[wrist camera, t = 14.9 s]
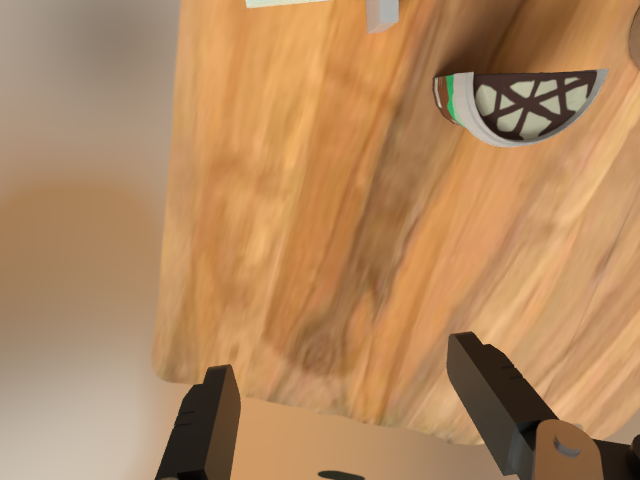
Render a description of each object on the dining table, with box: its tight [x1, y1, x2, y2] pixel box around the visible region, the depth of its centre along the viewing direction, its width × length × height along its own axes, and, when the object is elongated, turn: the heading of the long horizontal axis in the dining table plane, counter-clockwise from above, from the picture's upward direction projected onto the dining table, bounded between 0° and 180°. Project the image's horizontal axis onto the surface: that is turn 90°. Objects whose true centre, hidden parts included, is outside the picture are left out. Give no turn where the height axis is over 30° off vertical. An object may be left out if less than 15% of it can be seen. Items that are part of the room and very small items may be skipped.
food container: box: [433, 69, 609, 147], centre depth 31 cm, size 12×6×10 cm, turn 91°
